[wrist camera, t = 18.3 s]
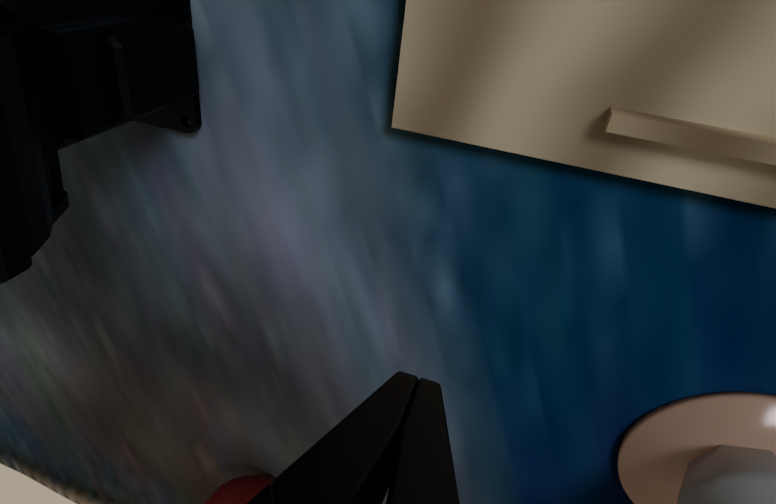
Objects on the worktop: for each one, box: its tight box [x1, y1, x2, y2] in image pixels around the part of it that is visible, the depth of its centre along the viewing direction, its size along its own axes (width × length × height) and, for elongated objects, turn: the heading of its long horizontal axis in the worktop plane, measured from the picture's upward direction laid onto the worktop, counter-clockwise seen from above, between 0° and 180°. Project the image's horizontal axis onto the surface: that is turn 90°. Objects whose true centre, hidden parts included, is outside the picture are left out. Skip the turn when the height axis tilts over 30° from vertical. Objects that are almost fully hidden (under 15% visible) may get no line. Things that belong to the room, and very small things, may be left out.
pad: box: [618, 392, 776, 504], centre depth 23 cm, size 10×10×1 cm
